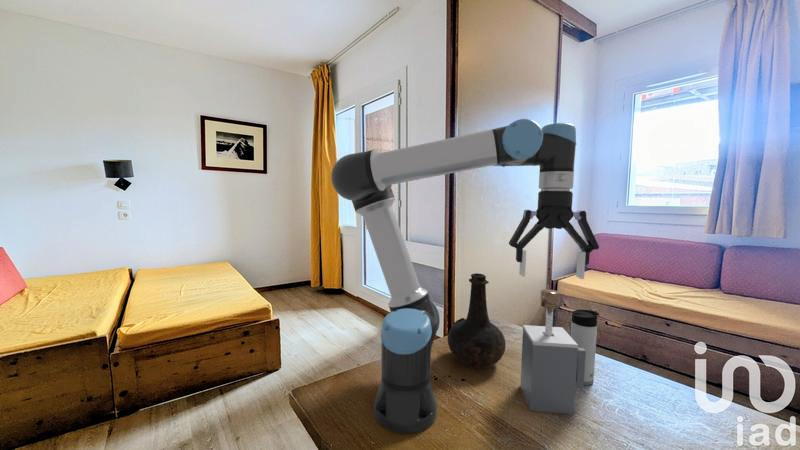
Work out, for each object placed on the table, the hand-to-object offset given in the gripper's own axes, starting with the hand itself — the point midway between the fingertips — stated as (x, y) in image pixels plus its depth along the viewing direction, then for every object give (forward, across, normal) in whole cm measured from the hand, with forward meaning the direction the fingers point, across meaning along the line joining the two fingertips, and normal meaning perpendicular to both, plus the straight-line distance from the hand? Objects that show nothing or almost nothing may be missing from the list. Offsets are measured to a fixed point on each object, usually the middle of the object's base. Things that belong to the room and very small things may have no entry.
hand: (550, 276), depth 79 cm
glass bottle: (+32, -16, +17) cm, 40 cm away
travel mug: (+32, +13, +11) cm, 37 cm away
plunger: (+27, 0, 0) cm, 27 cm away
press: (+32, +2, 0) cm, 32 cm away
